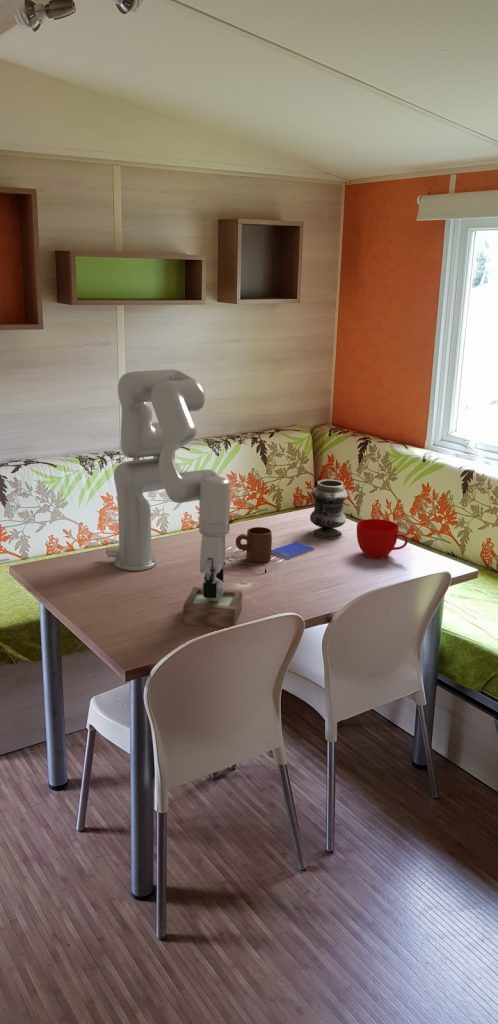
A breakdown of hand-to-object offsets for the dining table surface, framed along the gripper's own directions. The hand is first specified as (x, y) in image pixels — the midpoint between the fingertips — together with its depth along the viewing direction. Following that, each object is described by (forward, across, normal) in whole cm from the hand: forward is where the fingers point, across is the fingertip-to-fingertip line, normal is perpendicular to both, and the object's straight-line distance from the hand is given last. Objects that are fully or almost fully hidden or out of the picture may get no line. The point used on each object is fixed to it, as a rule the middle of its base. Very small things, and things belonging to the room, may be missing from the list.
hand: (213, 590), depth 215 cm
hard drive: (+8, -54, +15) cm, 56 cm away
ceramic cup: (+7, -55, +43) cm, 70 cm away
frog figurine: (+3, 0, 0) cm, 3 cm away
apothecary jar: (+7, -74, +25) cm, 78 cm away
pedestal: (+7, 0, 0) cm, 7 cm away
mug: (+7, -43, +4) cm, 44 cm away
